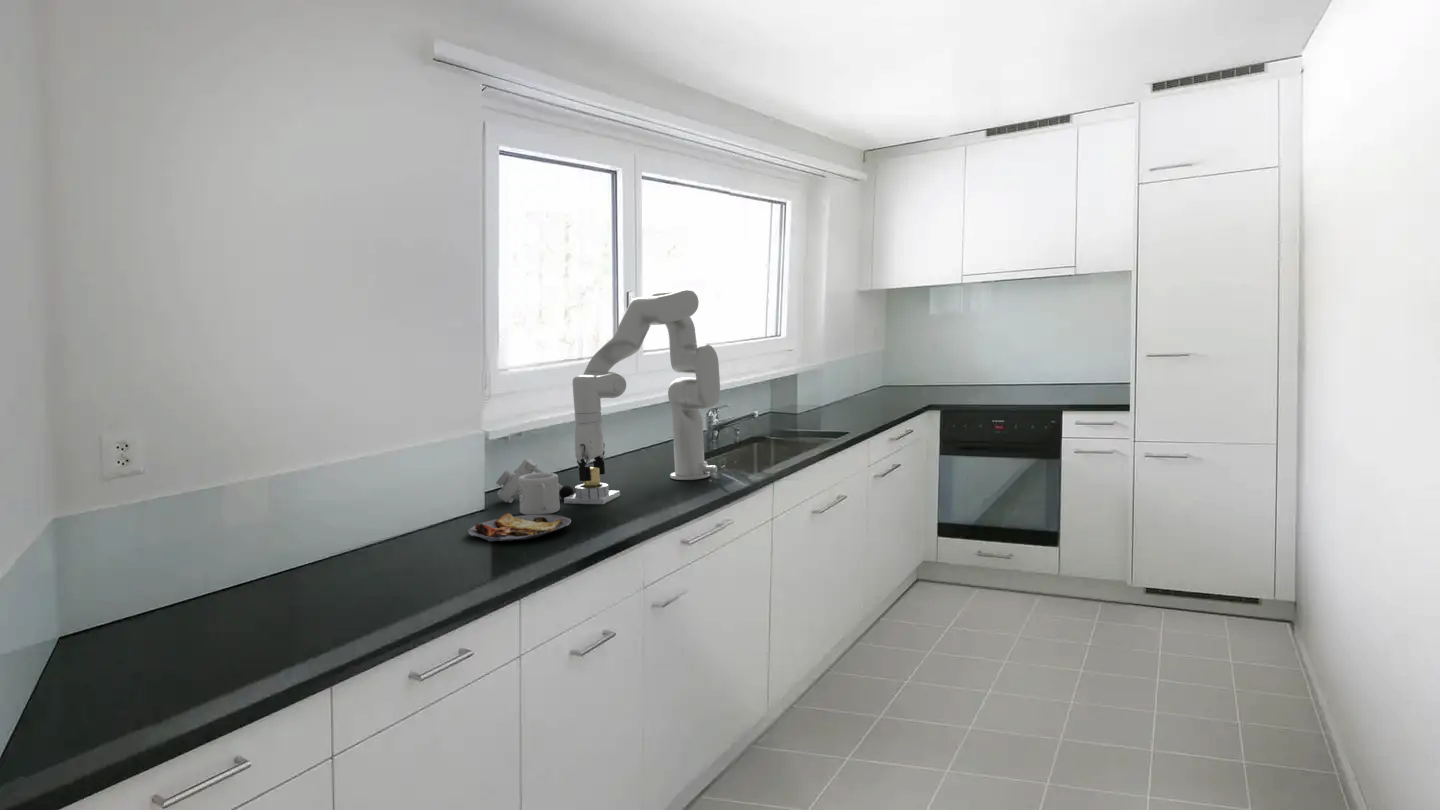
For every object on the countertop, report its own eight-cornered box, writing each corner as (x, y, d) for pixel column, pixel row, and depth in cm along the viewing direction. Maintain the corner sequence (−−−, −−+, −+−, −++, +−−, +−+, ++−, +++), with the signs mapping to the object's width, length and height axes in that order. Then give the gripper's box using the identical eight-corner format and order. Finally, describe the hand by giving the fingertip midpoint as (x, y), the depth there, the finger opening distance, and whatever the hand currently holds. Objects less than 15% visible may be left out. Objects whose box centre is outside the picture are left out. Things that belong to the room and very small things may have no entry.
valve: (542, 536, 278) (573, 496, 275) (486, 494, 276) (517, 454, 273) (549, 525, 288) (579, 486, 285) (495, 485, 286) (525, 446, 283)
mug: (516, 510, 268) (514, 474, 267) (555, 506, 272) (553, 470, 271) (526, 519, 255) (523, 482, 254) (566, 514, 259) (564, 477, 258)
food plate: (448, 540, 236) (447, 526, 236) (514, 520, 256) (513, 507, 256) (525, 549, 224) (524, 534, 223) (588, 527, 243) (588, 514, 243)
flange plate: (620, 495, 282) (619, 482, 282) (603, 504, 271) (602, 490, 271) (582, 495, 286) (581, 481, 286) (564, 503, 275) (563, 489, 274)
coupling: (588, 492, 281) (587, 466, 281) (603, 492, 280) (601, 467, 279) (582, 495, 277) (580, 469, 276) (596, 495, 276) (595, 469, 275)
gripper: (589, 414, 286) (593, 471, 288) (562, 423, 269) (567, 483, 271) (612, 414, 283) (616, 471, 285) (587, 422, 267) (591, 483, 269)
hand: (592, 477), depth 278 cm, fingers open, 9 cm apart
